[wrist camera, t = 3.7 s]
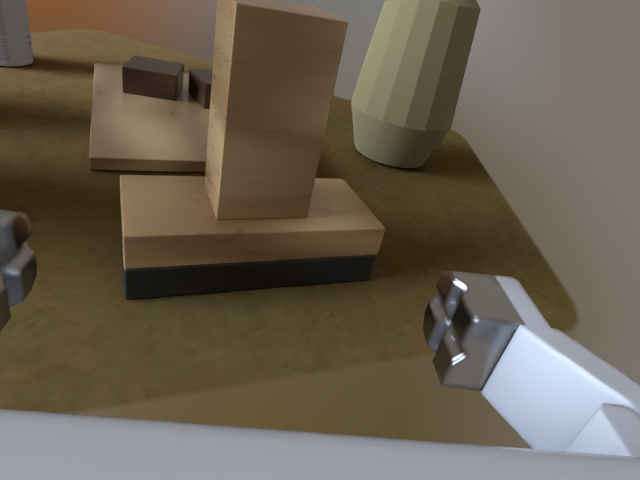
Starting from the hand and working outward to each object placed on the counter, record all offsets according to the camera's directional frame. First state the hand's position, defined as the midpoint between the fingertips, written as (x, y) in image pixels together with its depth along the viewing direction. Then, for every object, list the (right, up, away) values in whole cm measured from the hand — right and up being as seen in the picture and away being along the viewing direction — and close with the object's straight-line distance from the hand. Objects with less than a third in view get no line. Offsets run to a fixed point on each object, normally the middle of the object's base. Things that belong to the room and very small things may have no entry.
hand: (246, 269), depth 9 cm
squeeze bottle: (+7, +7, +29) cm, 31 cm away
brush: (-2, 0, +13) cm, 13 cm away
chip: (-12, +13, +28) cm, 33 cm away
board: (-9, +10, +27) cm, 30 cm away
